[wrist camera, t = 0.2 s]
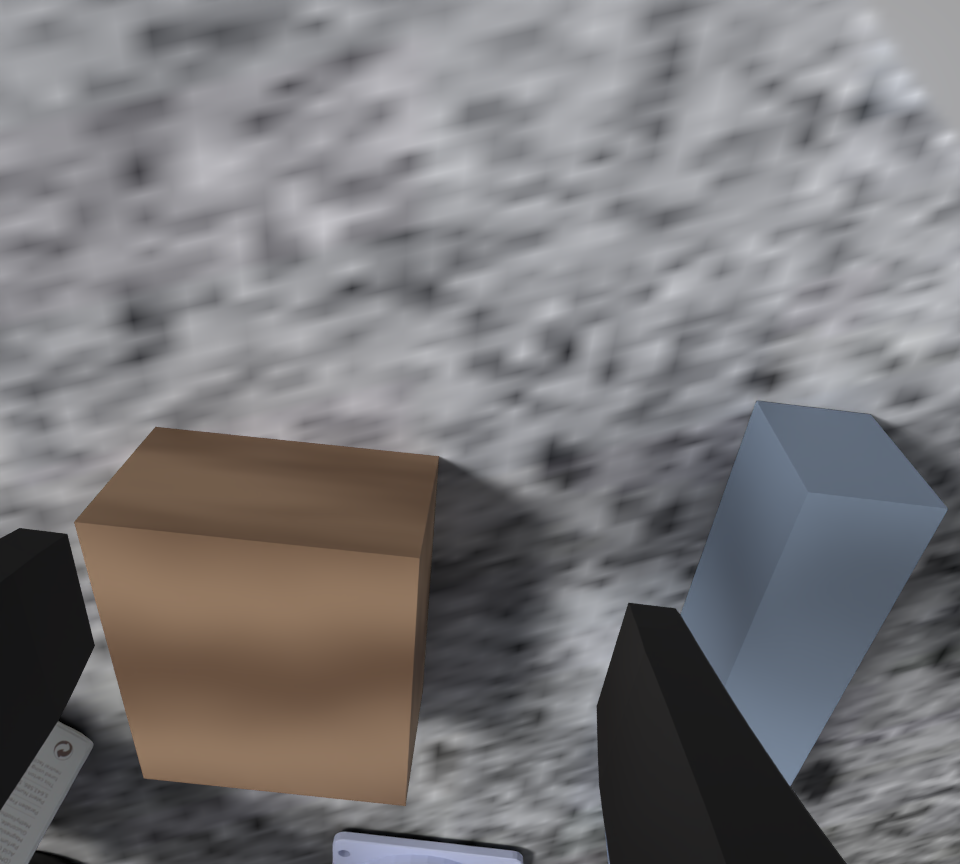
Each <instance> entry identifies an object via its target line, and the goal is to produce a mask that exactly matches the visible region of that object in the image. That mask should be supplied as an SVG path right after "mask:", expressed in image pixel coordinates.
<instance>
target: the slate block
mask: <svg viewBox="0 0 960 864" xmlns="http://www.w3.org/2000/svg"><path fill="white" fill-rule="evenodd" d="M947 510H948V508H947V507H946V506H945V504H944V503H943V502H942V501H941V499H940V498H939V497H938V496H937V495H936V493H935V492H934V491H933V490H932V488H931V487H930V486H929V485H928V484H927V482H926V481H925V480H924V479H923V478H922V476H921V475H920V474H919V473H918V471H917V470H916V469H915V468H914V467H913V465H912V464H911V463H910V462H909V461H908V459H907V458H906V457H905V456H904V454H903V453H902V452H901V451H900V450H899V448H898V447H897V446H896V445H895V443H894V442H893V441H892V440H891V439H890V437H889V436H888V435H887V434H886V433H885V431H884V430H883V429H882V428H881V426H880V425H879V424H878V423H877V422H876V420H875V419H874V418H873V417H872V415H871V414H862V413H854V412H846V411H837V410H829V409H821V408H812V407H804V406H796V405H787V404H779V403H771V402H762V401H756V404H755V406H754V409H753V412H752V415H751V418H750V420H749V423H748V426H747V429H746V432H745V435H744V437H743V440H742V443H741V446H740V449H739V451H738V454H737V457H736V460H735V463H734V466H733V468H732V471H731V474H730V477H729V480H728V482H727V485H726V488H725V491H724V494H723V497H722V499H721V502H720V505H719V508H718V511H717V513H716V516H715V519H714V522H713V525H712V528H711V530H710V533H709V536H708V539H707V542H706V544H705V547H704V550H703V553H702V556H701V559H700V561H699V564H698V567H697V570H696V573H695V575H694V578H693V581H692V584H691V587H690V590H689V592H688V595H687V598H686V601H685V604H684V606H683V609H682V612H681V616H682V618H683V620H684V621H685V623H686V625H687V626H688V628H689V630H690V631H691V633H692V635H693V636H694V638H695V640H696V641H697V643H698V645H699V646H700V648H701V650H702V651H703V653H704V655H705V656H706V658H707V660H708V661H709V663H710V664H711V666H712V668H713V669H714V671H715V673H716V674H717V676H718V677H719V679H720V681H721V682H722V684H723V685H724V687H725V689H726V690H727V692H728V693H729V695H730V697H731V698H732V700H733V701H734V703H735V705H736V706H737V708H738V709H739V711H740V712H741V714H742V715H743V717H744V719H745V720H746V722H747V723H748V725H749V726H750V728H751V729H752V731H753V732H754V734H755V735H756V737H757V738H758V740H759V741H760V743H761V744H762V746H763V747H764V749H765V750H766V752H767V753H768V755H769V756H770V758H771V759H772V761H773V762H774V763H775V765H776V766H777V768H778V769H779V771H780V772H781V774H782V775H783V777H784V778H785V780H786V781H787V783H788V784H789V786H791V784H792V782H793V781H794V779H795V777H796V775H797V774H798V772H799V770H800V768H801V767H802V765H803V763H804V761H805V760H806V758H807V756H808V754H809V753H810V751H811V749H812V747H813V746H814V744H815V742H816V740H817V739H818V737H819V735H820V733H821V731H822V730H823V728H824V726H825V724H826V723H827V721H828V719H829V717H830V716H831V714H832V712H833V710H834V709H835V707H836V705H837V703H838V702H839V700H840V698H841V696H842V695H843V693H844V691H845V689H846V688H847V686H848V684H849V682H850V681H851V679H852V677H853V675H854V673H855V672H856V670H857V668H858V666H859V665H860V663H861V661H862V659H863V658H864V656H865V654H866V652H867V651H868V649H869V647H870V645H871V644H872V642H873V640H874V638H875V637H876V635H877V633H878V631H879V630H880V628H881V626H882V624H883V622H884V621H885V619H886V617H887V615H888V614H889V612H890V610H891V608H892V607H893V605H894V603H895V601H896V600H897V598H898V596H899V594H900V593H901V591H902V589H903V587H904V586H905V584H906V582H907V580H908V579H909V577H910V575H911V573H912V571H913V570H914V568H915V566H916V564H917V563H918V561H919V559H920V557H921V556H922V554H923V552H924V550H925V549H926V547H927V545H928V543H929V542H930V540H931V538H932V536H933V535H934V533H935V531H936V529H937V528H938V526H939V524H940V522H941V521H942V519H943V517H944V515H945V513H946V512H947ZM605 835H606V832H605ZM606 845H607V840H606ZM607 856H608V864H610V861H609V854H608V847H607Z"/></svg>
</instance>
